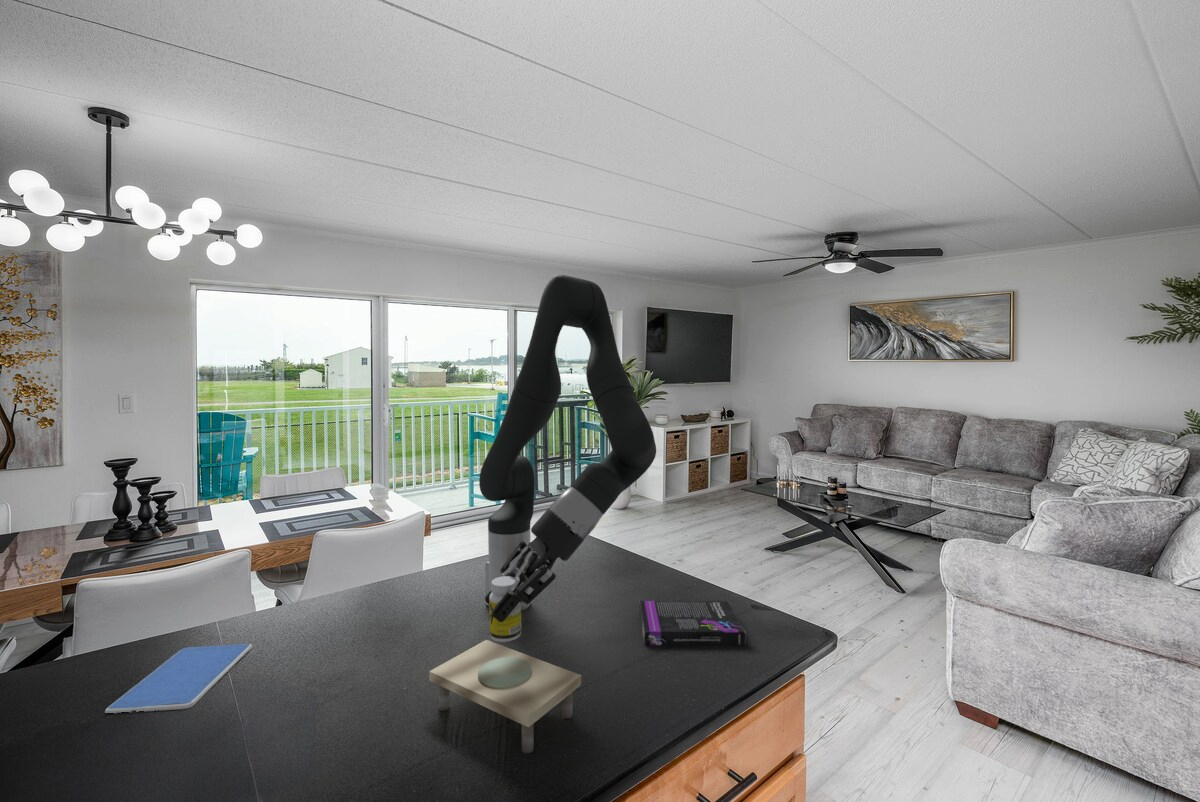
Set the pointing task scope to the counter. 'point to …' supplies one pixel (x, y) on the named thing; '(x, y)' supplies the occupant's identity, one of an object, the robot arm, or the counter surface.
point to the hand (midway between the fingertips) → (492, 610)
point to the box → (690, 623)
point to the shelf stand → (507, 685)
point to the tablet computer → (181, 679)
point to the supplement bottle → (512, 623)
